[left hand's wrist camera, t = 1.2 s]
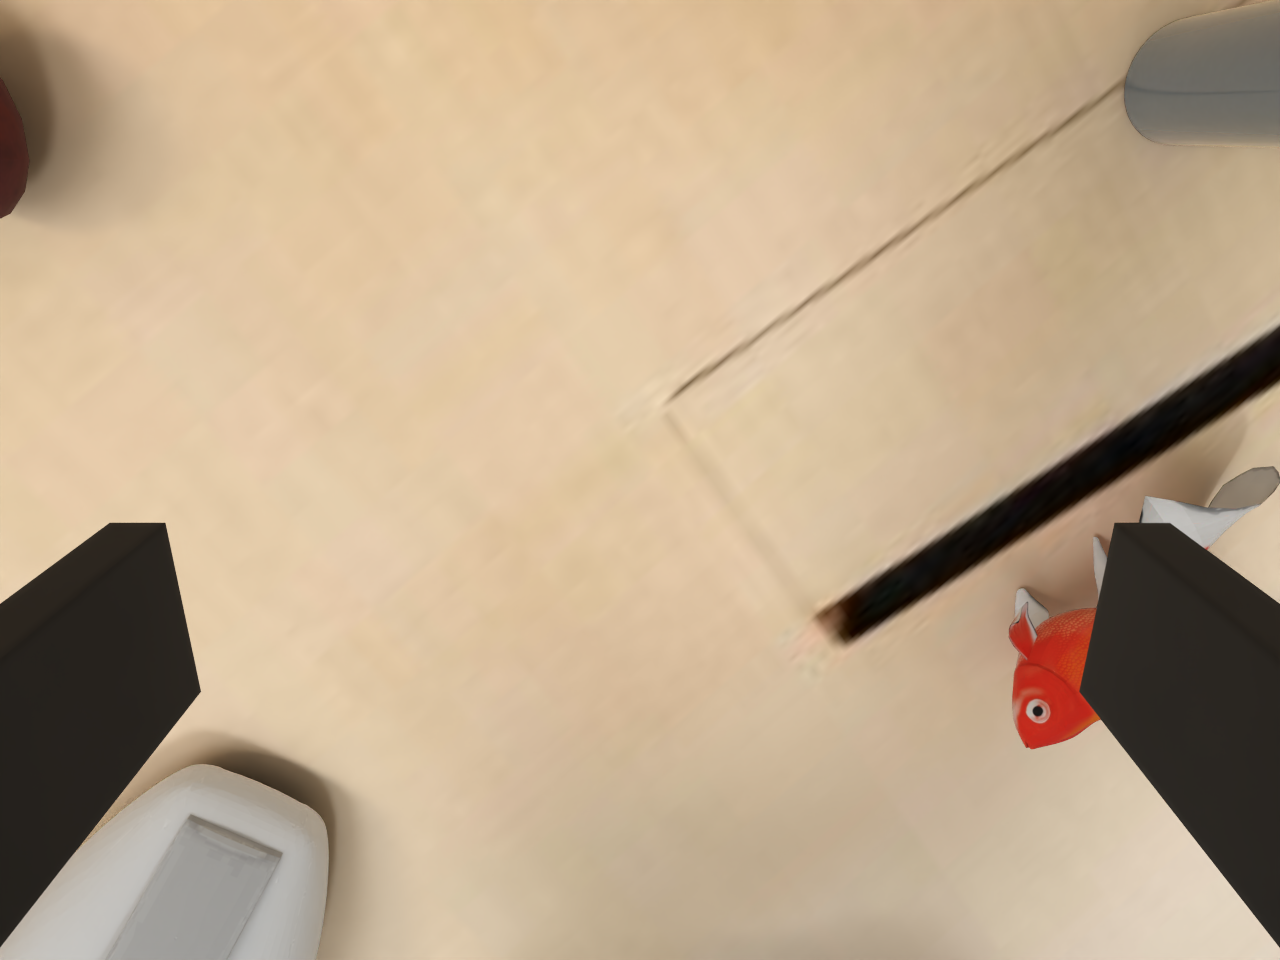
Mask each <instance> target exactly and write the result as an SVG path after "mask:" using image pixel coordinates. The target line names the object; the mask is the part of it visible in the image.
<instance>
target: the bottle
mask: <svg viewBox="0 0 1280 960" xmlns="http://www.w3.org/2000/svg"><path fill="white" fill-rule="evenodd" d="M1124 99H1125V106H1126V111H1127V114H1128V117H1129V119H1130V121H1131V123H1132V124H1133V126H1134V127H1135V128H1136V130H1137V131H1138V132H1139V133H1140V134H1141V135H1143V136H1144V137H1146V138H1147V139H1149V140H1151V141H1153V142H1156V143H1159V144H1164V145H1183V146H1222V147H1260V148H1280V0H1268V1H1264V2H1259V3H1254V4H1249V5H1244V6H1240V7H1235V8H1230V9H1225V10H1220V11H1216V12H1211V13H1206V14H1201V15H1196V16H1192V17H1187V18H1183V19H1179V20H1176V21H1174V22H1172V23H1169V24H1168V25H1166V26H1164V27H1163V28H1161V29H1160V30H1158V31H1157V32H1156V33H1154V34H1153V35H1152V36H1151V37H1150V38H1149V39H1148V40H1147V41H1146V42H1145V43H1144V45H1143V46H1142V47H1141V48H1140V50H1139V51H1138V53H1137V54H1136V56H1135V58H1134V60H1133V61H1132V63H1131V66H1130V68H1129V71H1128V74H1127V77H1126V82H1125V91H1124Z"/></svg>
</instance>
